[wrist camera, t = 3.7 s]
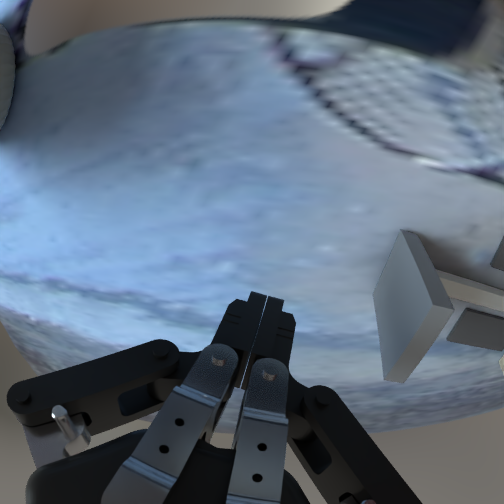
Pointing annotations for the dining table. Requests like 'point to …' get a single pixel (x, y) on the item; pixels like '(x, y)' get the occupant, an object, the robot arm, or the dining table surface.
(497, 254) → the pit pad
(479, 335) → the plate
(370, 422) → the dining table surface
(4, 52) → the canister
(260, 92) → the dining table surface
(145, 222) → the dining table surface
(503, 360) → the tunnel
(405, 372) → the grey elongated piece
